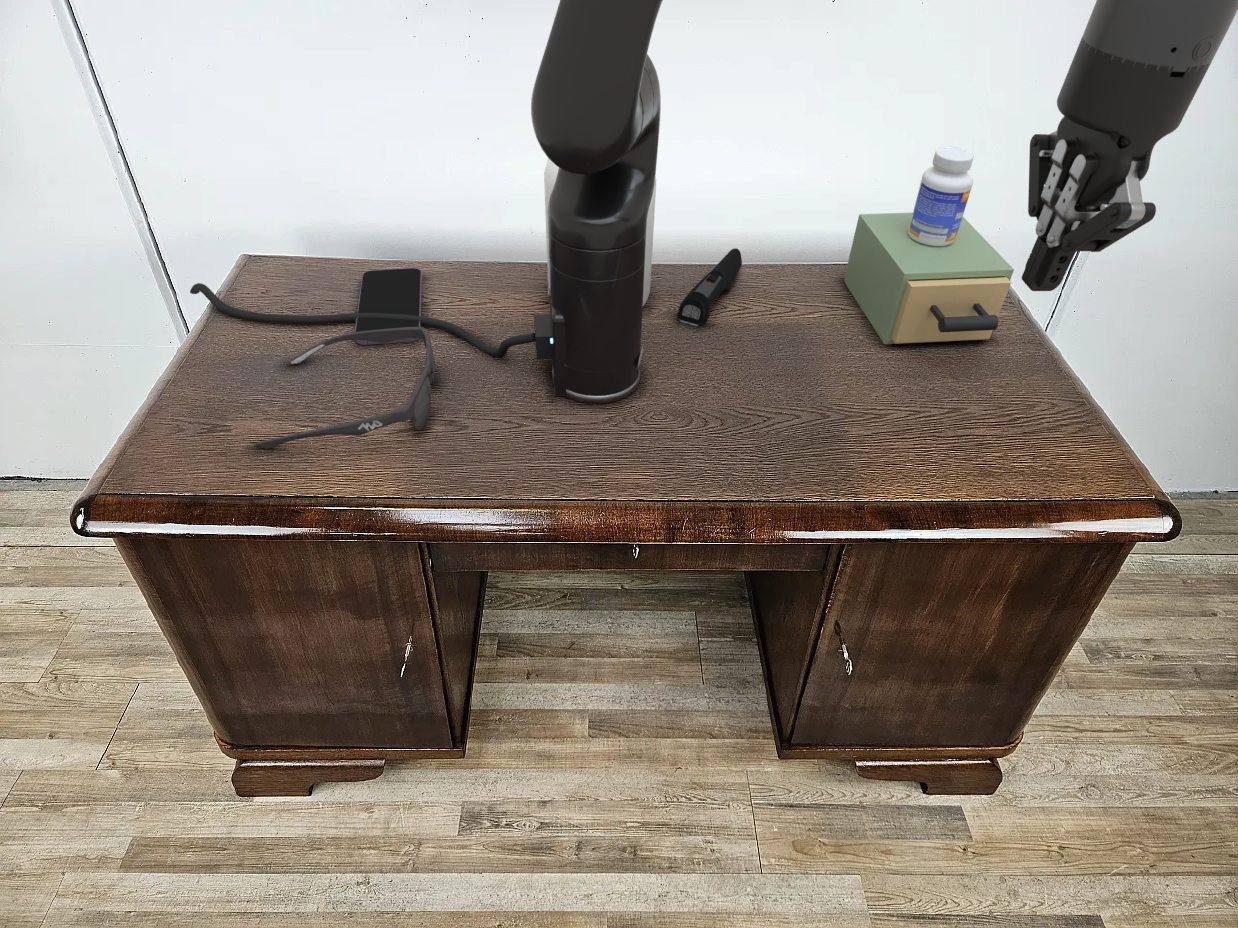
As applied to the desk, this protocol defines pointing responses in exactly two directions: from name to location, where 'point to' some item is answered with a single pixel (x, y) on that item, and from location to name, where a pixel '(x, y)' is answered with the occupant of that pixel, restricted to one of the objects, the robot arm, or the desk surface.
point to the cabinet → (909, 264)
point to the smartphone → (389, 300)
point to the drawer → (950, 309)
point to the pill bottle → (942, 197)
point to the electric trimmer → (710, 289)
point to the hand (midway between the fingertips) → (1037, 286)
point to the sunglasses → (412, 410)
